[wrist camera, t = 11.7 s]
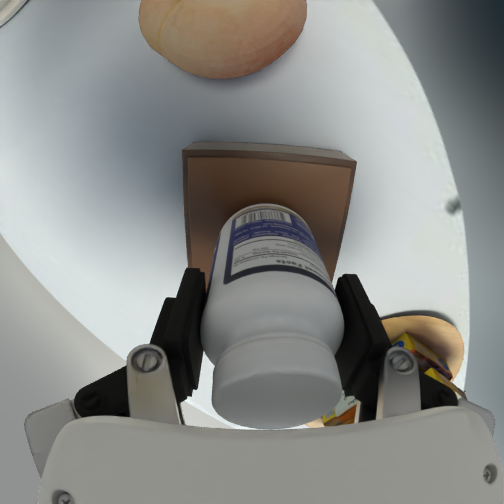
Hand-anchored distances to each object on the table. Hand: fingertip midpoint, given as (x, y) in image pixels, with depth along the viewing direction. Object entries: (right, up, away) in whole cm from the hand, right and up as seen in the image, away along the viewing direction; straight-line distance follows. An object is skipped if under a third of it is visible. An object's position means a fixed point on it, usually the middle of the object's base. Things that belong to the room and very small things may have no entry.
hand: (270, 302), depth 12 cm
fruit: (-2, +16, +2) cm, 17 cm away
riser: (0, +5, +8) cm, 10 cm away
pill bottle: (0, +3, +4) cm, 5 cm away
